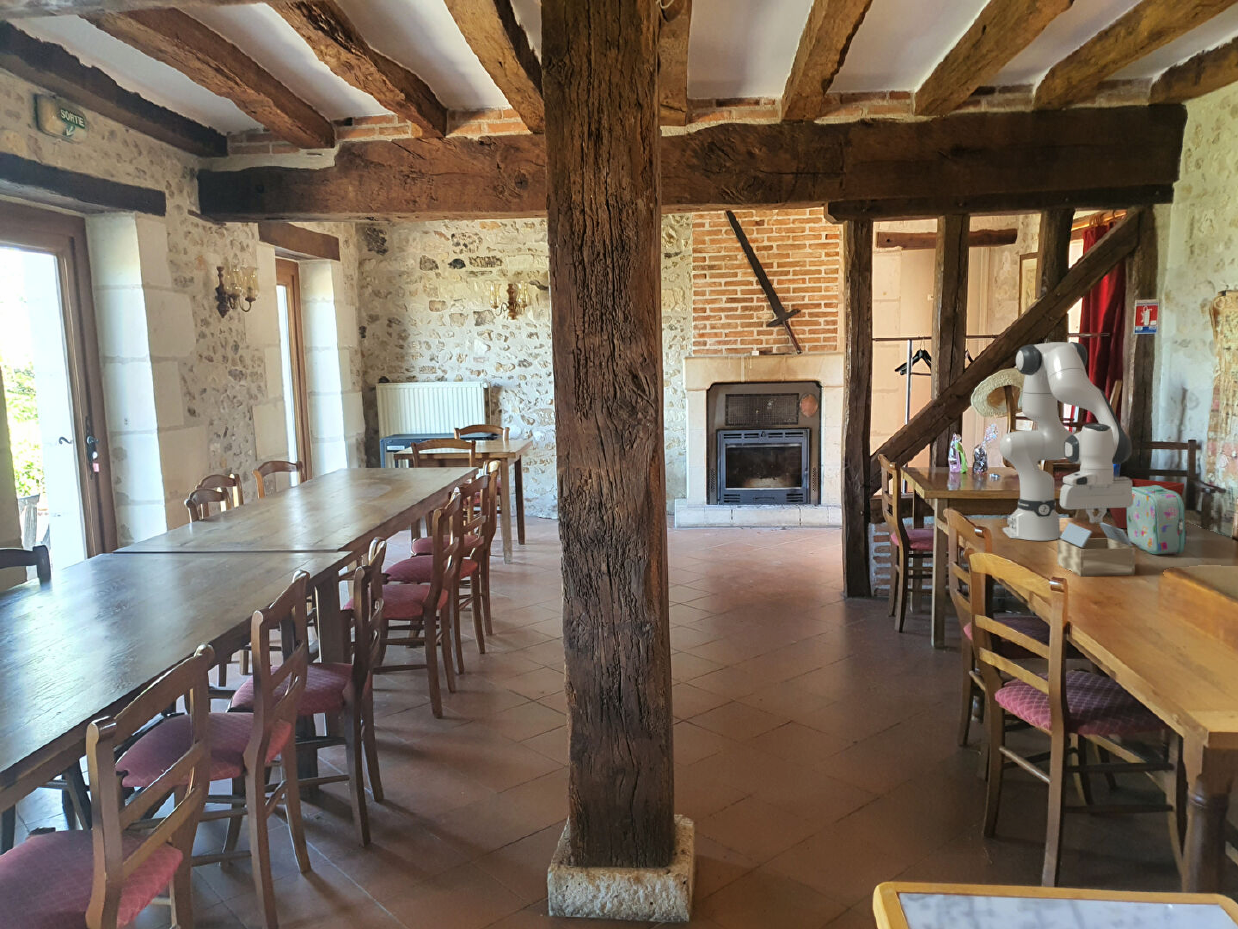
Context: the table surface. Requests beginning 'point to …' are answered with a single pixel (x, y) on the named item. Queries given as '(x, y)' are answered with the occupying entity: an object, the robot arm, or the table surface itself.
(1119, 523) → the plant pot
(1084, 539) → the flap
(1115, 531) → the flap
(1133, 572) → the crate
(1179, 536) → the lunch box
